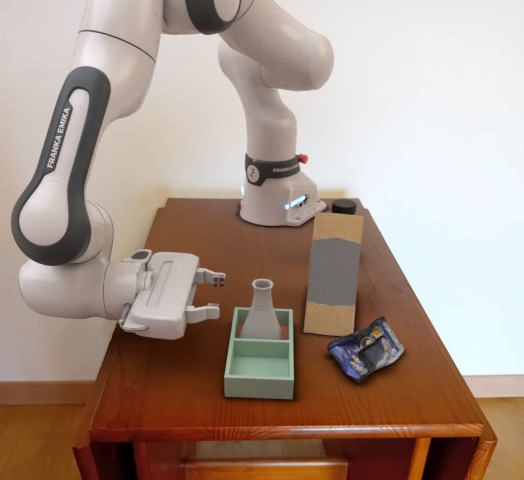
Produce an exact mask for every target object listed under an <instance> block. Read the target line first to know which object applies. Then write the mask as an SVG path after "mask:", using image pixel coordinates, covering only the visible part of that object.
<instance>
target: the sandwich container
mask: <svg viewBox="0 0 524 480" xmlns="http://www.w3.org/2000/svg"><path fill="white" fill-rule="evenodd" d="M313 219H314V220H313V228H312V237H311V245H310V256H309V268H308V277H307V278H308V279H307V289H306V291H307V292H306V303H305V314H304V324H303V325H304V326H303V333H306V334H307V333H308V334H315V335H316V334H317V335H323V336H324V335H325V336H334V337H335V336H336V337H341V336H345V335H349V334H351V333H354V332H355V331H354V329H355V317H356V307H357V306H356V305H357V293H358V283H359V282H358V281H359V271H360V261H361V260H360V259H361V249H362V242H363V241H362V240H363V231H364V224H365V216H364V215H358V214H357V215H356V214H355V215H348V214H337V213H332V212H323V211H321V212H316V213H315V216H314V218H313Z"/></svg>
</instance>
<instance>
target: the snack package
mask: <svg viewBox="0 0 524 480" xmlns="http://www.w3.org/2000/svg"><path fill="white" fill-rule="evenodd" d="M326 349H327V352H329V354H328V356H329V357H330V356H331V355H332V356H333V357H334V358H335V360H336V361H337V362H338V364H339V365H338V366H340V368H341V369H342V372H343V373H344V375H345V376H346V377H348V378H349V379H351V380H352V381H354V382H355V383H356V384H359V385H360V384H362V383H363V382H364V381H365V380H366V379H367V377H368V376H369V375H370V374H372V373H373V372H375V371H377V370H380V369H381V368H384V367H387V366H389V365H391V364H392V363H395V362H396V360H398V359H399V358H400V357H401V355H402V354H403V353H404V350H405V347H404V344H401V342H400V341H399V339H398V335H396V334H395V332H394V331H393V329H392V328H391V326H390V323H389V322H388V320H387V318H386V317H385V316H382V315H381V316H379V317H377V318H375V319H374V320H373V321H372V322H370V324H369V325H367V326H365V327H364V328H363V329H358V330H356V331H353V333H351V334H349V335H345V336H339V337H338V338H336V339H334V340H332V341H331V342H329V343H328V344H327V346H326Z"/></svg>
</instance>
